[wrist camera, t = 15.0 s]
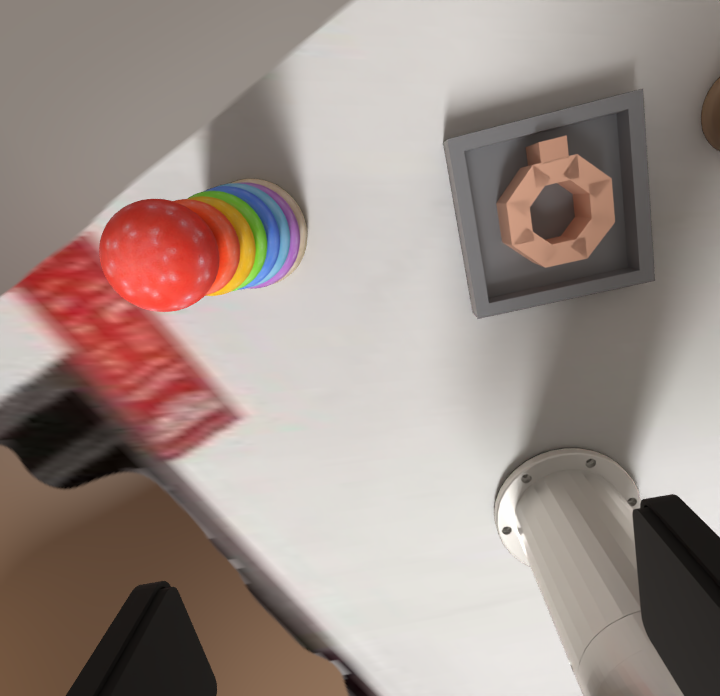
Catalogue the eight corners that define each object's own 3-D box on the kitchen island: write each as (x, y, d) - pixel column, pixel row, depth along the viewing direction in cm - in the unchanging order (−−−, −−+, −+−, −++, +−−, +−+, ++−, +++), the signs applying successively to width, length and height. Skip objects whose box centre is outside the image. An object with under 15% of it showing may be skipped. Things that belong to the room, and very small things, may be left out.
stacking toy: (269, 157, 36) (157, 115, 18) (328, 248, 38) (281, 293, 20) (187, 216, 37) (9, 232, 19) (248, 301, 39) (137, 387, 21)
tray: (626, 95, 34) (642, 88, 31) (639, 275, 37) (654, 280, 35) (443, 143, 35) (447, 139, 33) (472, 312, 39) (478, 318, 36)
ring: (588, 131, 34) (607, 125, 31) (598, 247, 36) (617, 251, 33) (489, 156, 35) (499, 152, 32) (505, 268, 37) (516, 274, 34)
